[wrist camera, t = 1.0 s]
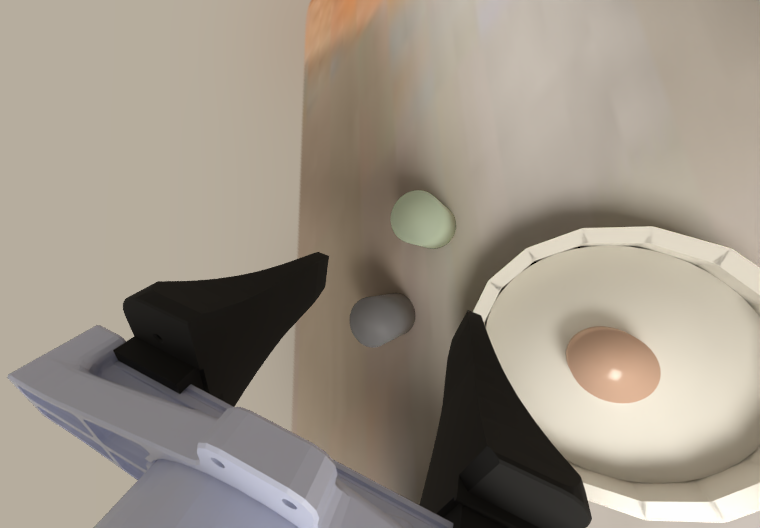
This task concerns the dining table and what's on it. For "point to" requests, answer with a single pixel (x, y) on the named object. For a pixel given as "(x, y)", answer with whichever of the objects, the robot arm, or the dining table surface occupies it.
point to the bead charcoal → (381, 318)
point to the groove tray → (638, 366)
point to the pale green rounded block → (422, 220)
